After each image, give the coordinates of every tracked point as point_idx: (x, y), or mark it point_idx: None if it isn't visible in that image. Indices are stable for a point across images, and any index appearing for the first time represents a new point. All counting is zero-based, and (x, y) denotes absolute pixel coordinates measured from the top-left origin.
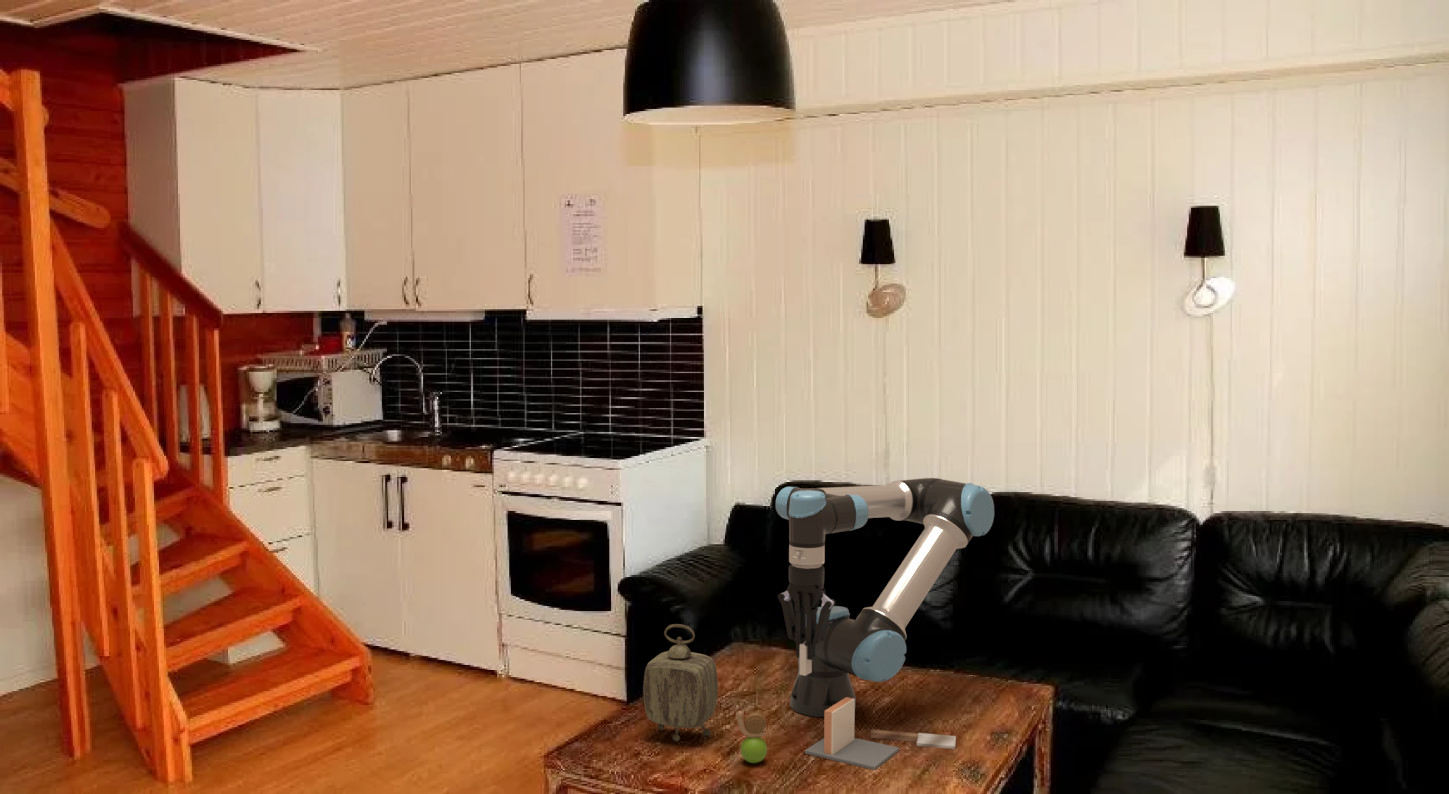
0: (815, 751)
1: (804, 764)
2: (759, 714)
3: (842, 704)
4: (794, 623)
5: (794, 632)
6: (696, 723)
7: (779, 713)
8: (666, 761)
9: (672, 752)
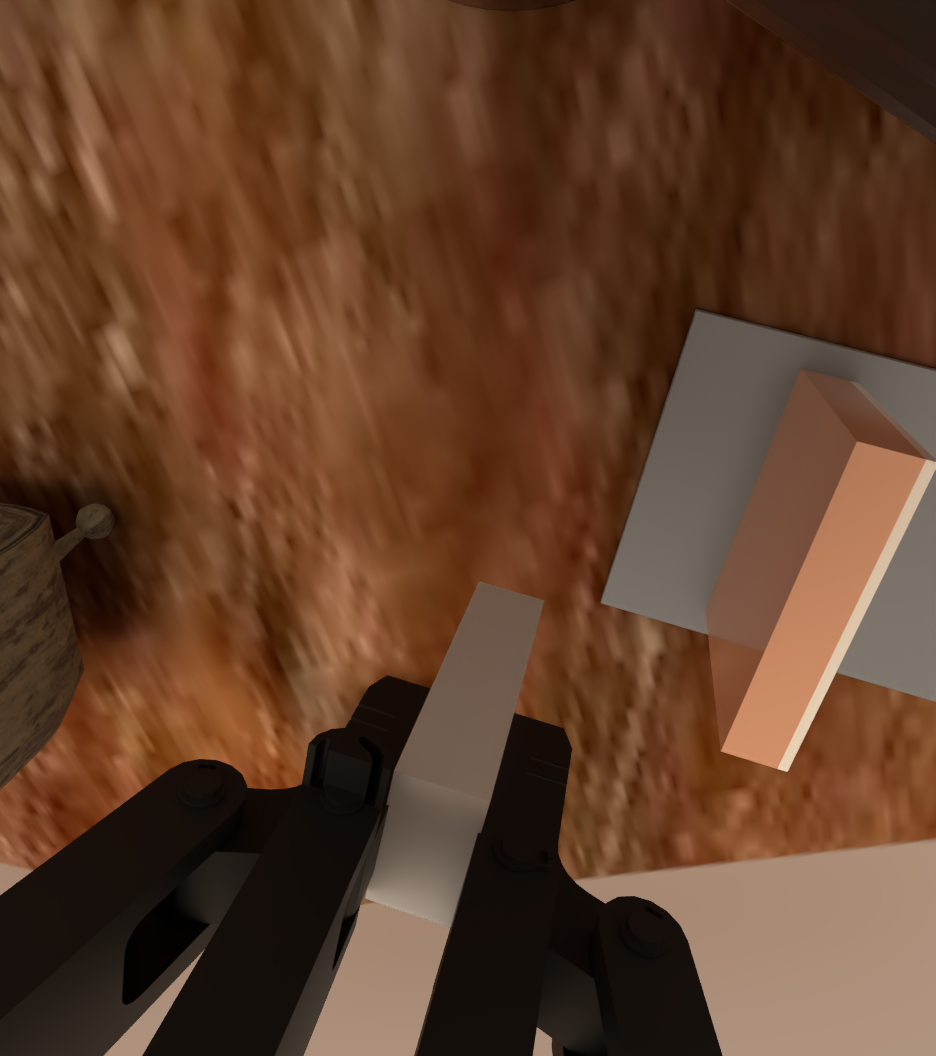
0: (656, 603)
1: (628, 710)
2: (362, 903)
3: (840, 611)
4: (90, 978)
5: (188, 878)
6: (66, 711)
7: (286, 26)
8: (107, 776)
9: (80, 699)
